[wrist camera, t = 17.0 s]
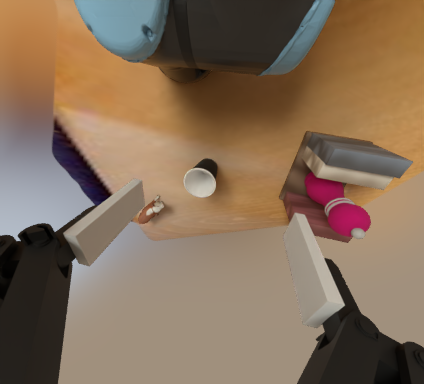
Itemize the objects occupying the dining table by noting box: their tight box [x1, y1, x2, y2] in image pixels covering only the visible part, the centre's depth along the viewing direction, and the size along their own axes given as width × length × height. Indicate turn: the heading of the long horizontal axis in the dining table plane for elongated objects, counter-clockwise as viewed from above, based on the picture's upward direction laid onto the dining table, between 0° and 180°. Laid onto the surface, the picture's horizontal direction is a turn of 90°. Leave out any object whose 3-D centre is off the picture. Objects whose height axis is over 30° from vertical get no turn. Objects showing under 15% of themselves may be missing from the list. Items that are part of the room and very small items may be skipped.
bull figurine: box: [138, 195, 164, 224], centre depth 56 cm, size 4×13×8 cm, turn 133°
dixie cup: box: [184, 158, 217, 198], centre depth 44 cm, size 8×8×11 cm
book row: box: [279, 131, 413, 243], centre depth 38 cm, size 19×14×14 cm
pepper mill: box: [304, 172, 371, 239], centre depth 35 cm, size 7×7×20 cm
